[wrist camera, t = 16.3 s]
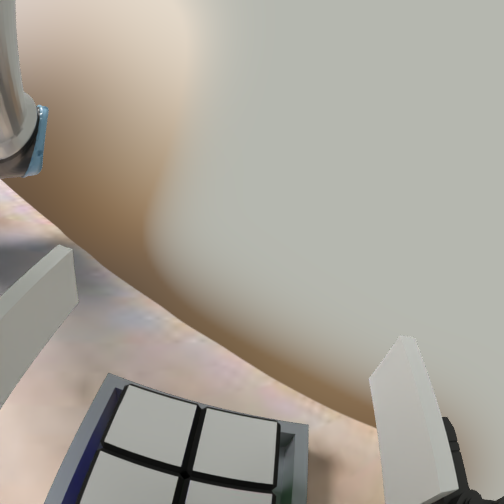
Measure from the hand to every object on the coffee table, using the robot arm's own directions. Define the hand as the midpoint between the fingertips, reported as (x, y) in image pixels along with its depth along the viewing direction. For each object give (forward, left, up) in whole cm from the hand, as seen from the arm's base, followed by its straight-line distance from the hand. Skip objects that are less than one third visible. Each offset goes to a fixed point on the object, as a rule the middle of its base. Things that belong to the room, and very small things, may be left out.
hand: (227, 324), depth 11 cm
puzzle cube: (+3, 0, -19) cm, 19 cm away
